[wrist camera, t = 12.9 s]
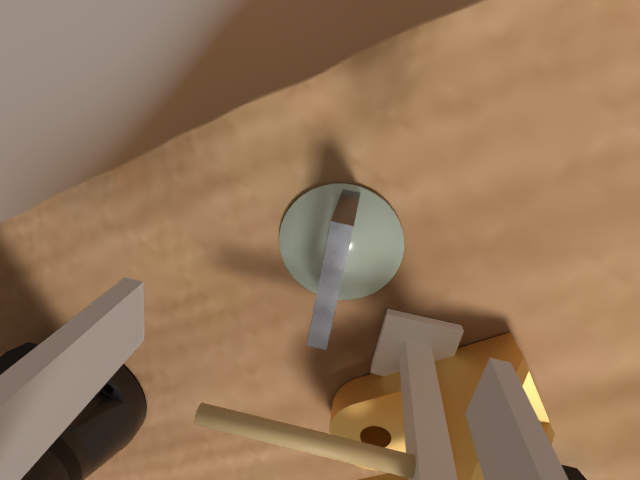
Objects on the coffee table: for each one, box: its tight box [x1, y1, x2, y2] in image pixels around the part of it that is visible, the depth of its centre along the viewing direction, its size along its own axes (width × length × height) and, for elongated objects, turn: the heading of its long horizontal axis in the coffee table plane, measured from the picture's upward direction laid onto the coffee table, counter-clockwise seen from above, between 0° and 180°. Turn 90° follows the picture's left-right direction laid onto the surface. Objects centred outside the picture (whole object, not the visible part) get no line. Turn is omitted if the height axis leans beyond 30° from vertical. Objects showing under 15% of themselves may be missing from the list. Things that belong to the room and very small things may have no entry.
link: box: [307, 189, 360, 350], centre depth 30 cm, size 2×10×8 cm, turn 170°
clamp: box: [329, 332, 554, 480], centre depth 32 cm, size 20×9×16 cm, turn 117°
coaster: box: [279, 183, 404, 300], centre depth 34 cm, size 11×11×1 cm
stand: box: [194, 309, 464, 480], centre depth 29 cm, size 20×7×18 cm, turn 80°
